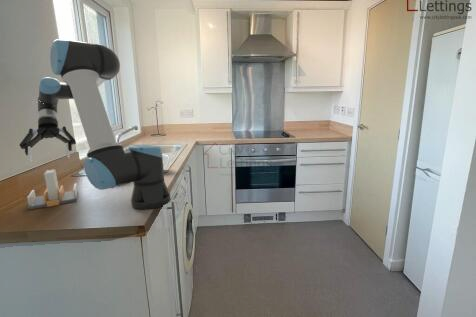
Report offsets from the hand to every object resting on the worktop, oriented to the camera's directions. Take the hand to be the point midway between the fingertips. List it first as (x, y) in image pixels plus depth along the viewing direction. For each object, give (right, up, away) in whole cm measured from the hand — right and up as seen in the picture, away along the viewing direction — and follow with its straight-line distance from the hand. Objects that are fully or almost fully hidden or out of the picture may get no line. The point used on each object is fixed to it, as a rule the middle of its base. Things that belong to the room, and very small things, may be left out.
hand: (49, 158), depth 111 cm
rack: (+4, -18, -2) cm, 18 cm away
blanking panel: (+4, -16, -2) cm, 17 cm away
